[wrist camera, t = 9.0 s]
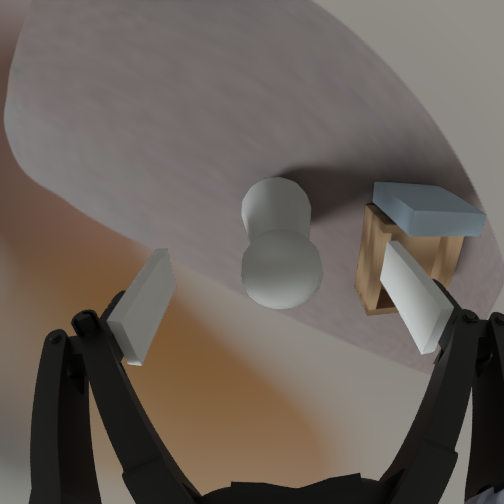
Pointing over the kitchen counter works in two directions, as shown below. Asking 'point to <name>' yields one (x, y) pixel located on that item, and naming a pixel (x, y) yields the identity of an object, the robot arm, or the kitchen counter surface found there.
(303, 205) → the salt shaker
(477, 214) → the pale blue lid slab
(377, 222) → the open wooden crate
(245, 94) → the kitchen counter surface
